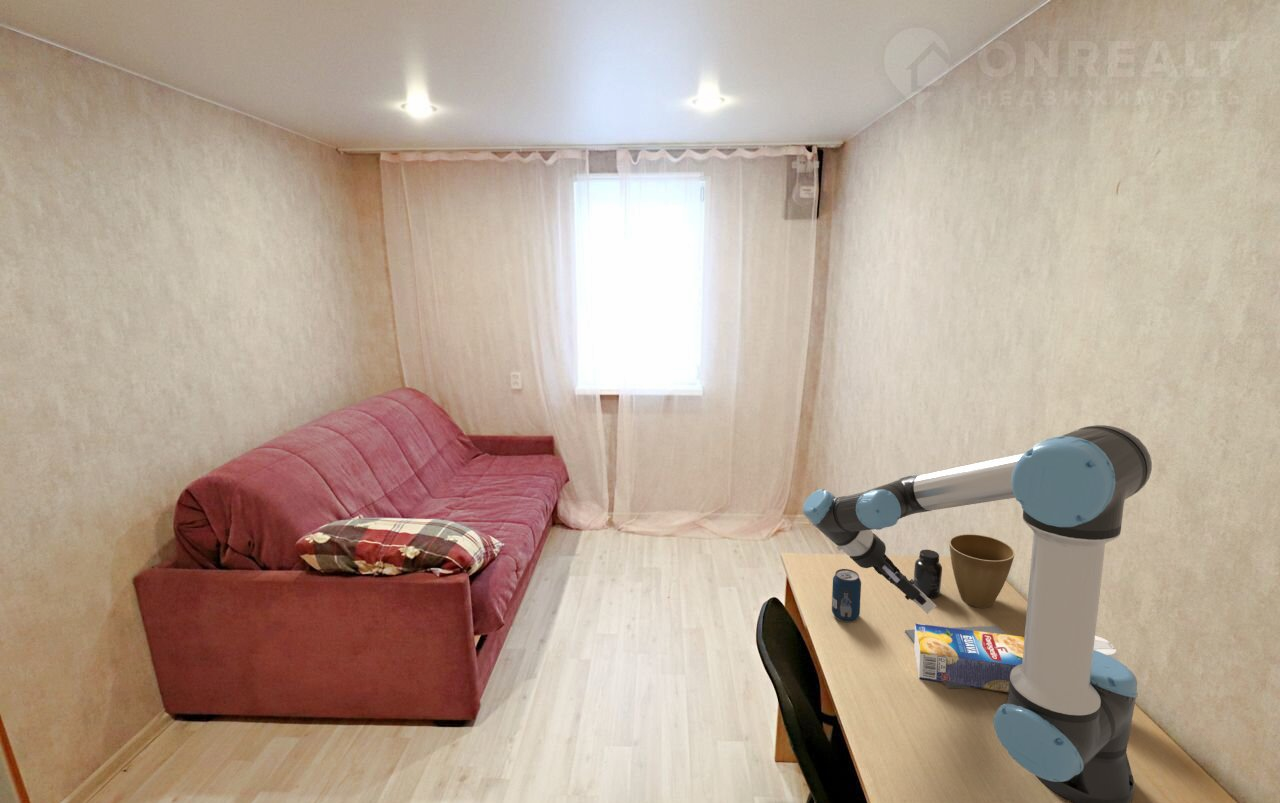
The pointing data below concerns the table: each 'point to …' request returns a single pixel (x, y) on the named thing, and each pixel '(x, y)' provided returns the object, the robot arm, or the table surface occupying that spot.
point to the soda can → (846, 595)
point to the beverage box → (967, 656)
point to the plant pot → (980, 567)
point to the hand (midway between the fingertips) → (930, 608)
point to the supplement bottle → (928, 573)
